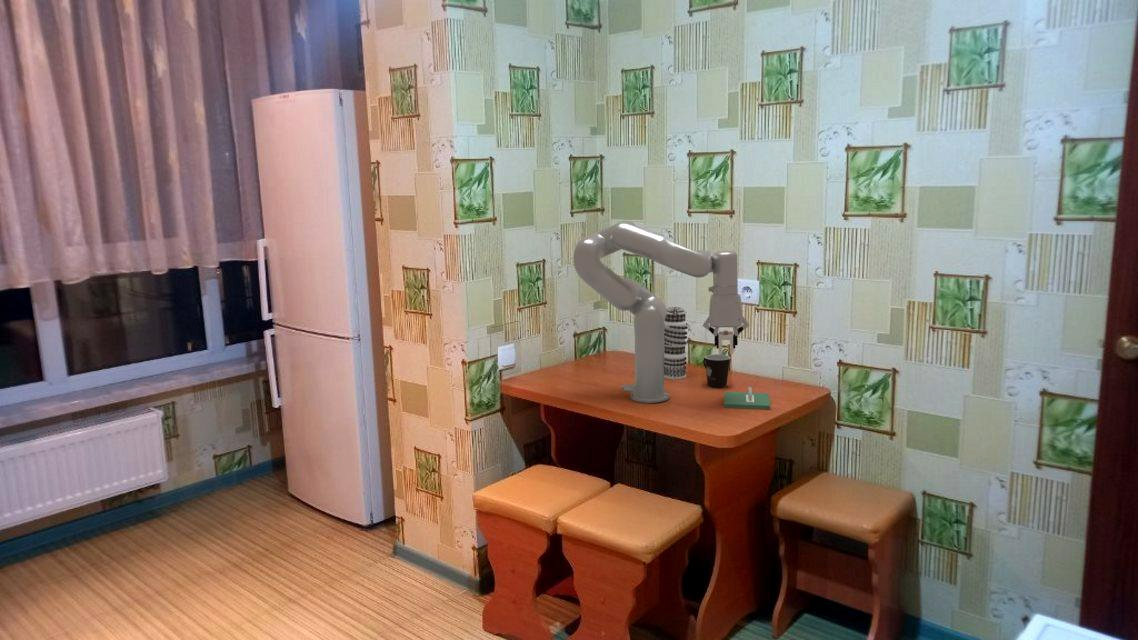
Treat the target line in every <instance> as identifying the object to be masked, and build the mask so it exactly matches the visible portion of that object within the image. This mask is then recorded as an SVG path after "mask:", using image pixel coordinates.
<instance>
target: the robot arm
mask: <svg viewBox="0 0 1138 640" xmlns="http://www.w3.org/2000/svg"><path fill="white" fill-rule="evenodd" d="M621 250H622V251H625V252H628V253H631V254H634V255H637V256H640V257H643V258H645V259H648V260H651V261H653V262H655V263H657V264H659V265H662V266H664V267H667V268H669V269H672V270H674V271H677V272H679V273H682V274H685V275H688V276H690V277H694V278H703V277H706V276H708V275H709V274H710V273H712V286H711V287H710V286H708V292H712V294H711V295H710V299H709V310H708V311H709V312H708V317H706V320H705V321H704V322H703V324H702V327H704V328H705V329H706V330H707V331H709V332H710V333H711V334H712V335H713V337H714V346H716V349H718V350H719V328H732V330H733V349H736V346H738V345H739V344H738V343H739V341H738V338H739V337H738V336H739V335H740V334H742V332H743V331H744V330H746V329H747V328H748V327H749V326H750V323H749V322H748V321H747V320H746V318H745V317H744V315H743V307H742V306H743V305H742V304H743V303H742V297H741V294H739V289H738V287H739V286H738V283H739V282H738V281H739V279H738V278H739V277H738V271H739V270H738V254H737V252H736V251H734V250H733V251H732V250H720V251H719V250H718V251H712V250H703V249H702V250H696V251H694V250H692V249H689V248H687V247H684V246H682V245H679V244H677V243H675V242H673V241H672V240H670V239H669V238H668V237H666V236H665V235H664V234H660V233H657V232H654V231H651V230H649V229H647V228H644V227H643V228H642V227H641V226H638V225H636V224H635V222H633V221H630V220H625V219H624V220H620V221H618V222H617V223H615V224H612V225H611V226H608V227H606V228H604V229H602V230H598V231H597V232H593V233H592V234H589V235H587V236H584V237H583V238H581V239H580V240H579V241H578V242H577V244H575V247H574V252H573V256H572V257H573V259H572V260H573V261H572V262H573V267H574V269H575V271H576V273H577V275H578V276H579V277H580V279H581V280H583V282H584V283H585V284H587V285H588V286H589V287H590V288H591V289H593V290H594V291H595V292H596V293H597V294H599V295H600V296H601V297H602V298H603V299H605V300H606V301H607V302H608V303H610V305H611V306H613V307H614V308H616V309H617V310H619V311H628V312H630V313H631V314H632V315H634V317H633V327H634V329H633V330H634V361H635V363H634V370H635V372H634V381H635V382H634V383H631V384H621V391H624V393H625V392H626V393H630V394H629V395H630V399H631V400H632V401H633V402H634V401H635V402H637V403H643V404H644V403H645V404H657V403H663V402H667V401H668V400H669V399H670V394H669V393H668V392H667V391H665V378H664V355H665V352H664V333H665V332H664V323H665V319H666V316H667V310H666V309H667V307H666V305H665V303H664V302H663V301H662V300H661V299H660V298H658V297H657V296H656V295H655V294H653V293H652V292H651V291H650V290H648V289H647V288H646V287H645V286H643V284H640V283H639V282H638V281H637V280H635V279H632V278H629V277H628V278H627V277H625V278H623V277H621V276H620V275H619V274H617V273H615V271H614V270H612V269H611V267H610V268H609V267H608V266H606V265H605V264H604V263H603V262H602V261H601V259H602V258H604V257H607V256H609V255H611V254H614V253H616V252H619V251H621Z"/></svg>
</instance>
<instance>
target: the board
mask: <svg viewBox="0 0 1138 640" xmlns="http://www.w3.org/2000/svg"><path fill="white" fill-rule="evenodd" d="M723 397H724V400H723V403H724V404H723V407H724V408H725V409H727V408H728V409H730V408H731V409H747V410H749V409H750V410H769V411H770V410H771V401H770V395H769V393H767V392H766V393H765V392H753V388H752V386H748V392H745V391H744V392H743V391H742V392H741V391H724V396H723Z"/></svg>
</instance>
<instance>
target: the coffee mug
mask: <svg viewBox="0 0 1138 640" xmlns="http://www.w3.org/2000/svg"><path fill="white" fill-rule="evenodd" d="M702 360H703V361H702V364H703V366H704V368H705V371H706V382H707V387H709V388H712V389H723V387H724V388H727V386H728V385H727V383H728V377H729V370H730V364H731V363H730V361H731V356H729V355H725V354H719V353H718V354H717V353H716V354H715V353H714V354H708V355H705V356H704V357H703V359H702Z"/></svg>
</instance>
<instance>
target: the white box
mask: <svg viewBox="0 0 1138 640" xmlns="http://www.w3.org/2000/svg"><path fill="white" fill-rule="evenodd" d="M718 335H719V348H718V354H720V355H723V341H729V355H733V354H734V348H733V335H734V330H733V329H723V330H722V329H721V330H718Z"/></svg>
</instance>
